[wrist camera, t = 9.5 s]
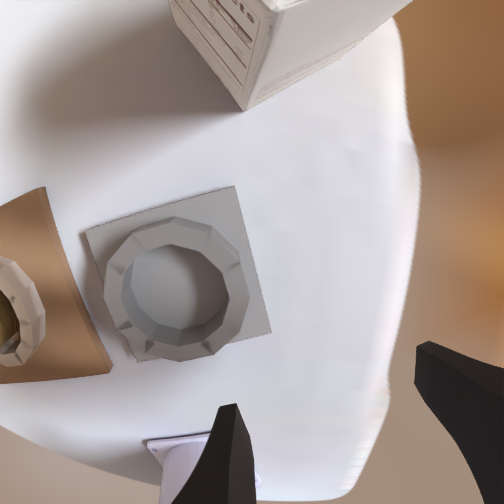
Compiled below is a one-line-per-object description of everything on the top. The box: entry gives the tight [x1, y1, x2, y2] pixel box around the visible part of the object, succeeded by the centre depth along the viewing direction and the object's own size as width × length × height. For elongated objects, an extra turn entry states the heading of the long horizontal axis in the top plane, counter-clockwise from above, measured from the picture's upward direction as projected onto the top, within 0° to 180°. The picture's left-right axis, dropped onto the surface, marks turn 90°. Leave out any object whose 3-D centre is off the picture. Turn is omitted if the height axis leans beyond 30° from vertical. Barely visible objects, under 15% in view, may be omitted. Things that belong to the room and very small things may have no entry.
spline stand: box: [85, 186, 272, 362], centre depth 17 cm, size 9×9×3 cm
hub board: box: [0, 187, 113, 384], centre depth 17 cm, size 13×13×3 cm
